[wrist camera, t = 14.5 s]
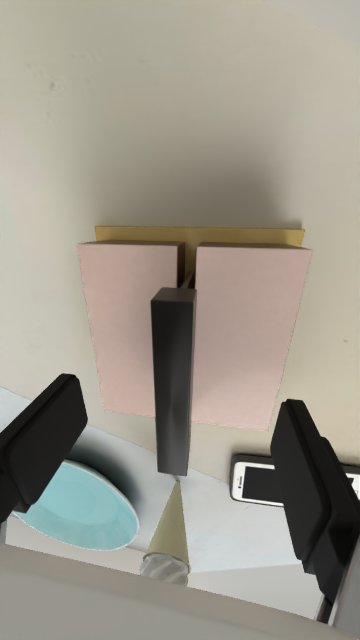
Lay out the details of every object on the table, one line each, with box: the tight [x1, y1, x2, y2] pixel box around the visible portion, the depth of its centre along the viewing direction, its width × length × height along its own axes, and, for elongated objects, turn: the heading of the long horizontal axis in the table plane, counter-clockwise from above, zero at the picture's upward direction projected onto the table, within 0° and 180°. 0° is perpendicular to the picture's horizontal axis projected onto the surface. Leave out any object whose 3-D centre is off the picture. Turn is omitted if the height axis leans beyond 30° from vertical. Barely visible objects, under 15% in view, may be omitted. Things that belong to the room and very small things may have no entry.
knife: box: [150, 270, 197, 476], centre depth 15 cm, size 11×2×10 cm, turn 179°
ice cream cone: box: [140, 481, 191, 586], centre depth 23 cm, size 5×5×15 cm
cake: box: [77, 226, 313, 431], centre depth 18 cm, size 16×16×5 cm
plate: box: [12, 459, 140, 551], centre depth 33 cm, size 22×22×3 cm
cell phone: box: [230, 455, 360, 508], centre depth 26 cm, size 8×15×1 cm, turn 92°
